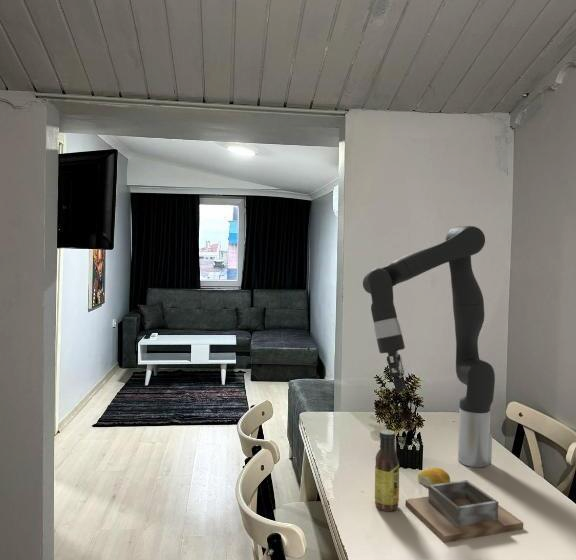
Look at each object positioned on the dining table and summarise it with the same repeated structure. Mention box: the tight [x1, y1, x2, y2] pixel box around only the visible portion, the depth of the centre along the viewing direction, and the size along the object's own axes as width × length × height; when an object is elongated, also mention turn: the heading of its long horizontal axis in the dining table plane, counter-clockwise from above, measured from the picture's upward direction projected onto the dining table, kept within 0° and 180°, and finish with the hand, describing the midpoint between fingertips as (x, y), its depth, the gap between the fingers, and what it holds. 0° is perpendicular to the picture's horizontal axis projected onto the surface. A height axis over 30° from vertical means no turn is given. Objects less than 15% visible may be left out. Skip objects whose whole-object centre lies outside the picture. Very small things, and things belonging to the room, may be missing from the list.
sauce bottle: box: [374, 429, 400, 512], centre depth 135 cm, size 6×6×20 cm
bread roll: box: [417, 467, 451, 488], centre depth 150 cm, size 8×9×4 cm
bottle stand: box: [405, 479, 524, 543], centre depth 130 cm, size 22×18×6 cm
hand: (401, 390), depth 148 cm, fingers open, 8 cm apart
